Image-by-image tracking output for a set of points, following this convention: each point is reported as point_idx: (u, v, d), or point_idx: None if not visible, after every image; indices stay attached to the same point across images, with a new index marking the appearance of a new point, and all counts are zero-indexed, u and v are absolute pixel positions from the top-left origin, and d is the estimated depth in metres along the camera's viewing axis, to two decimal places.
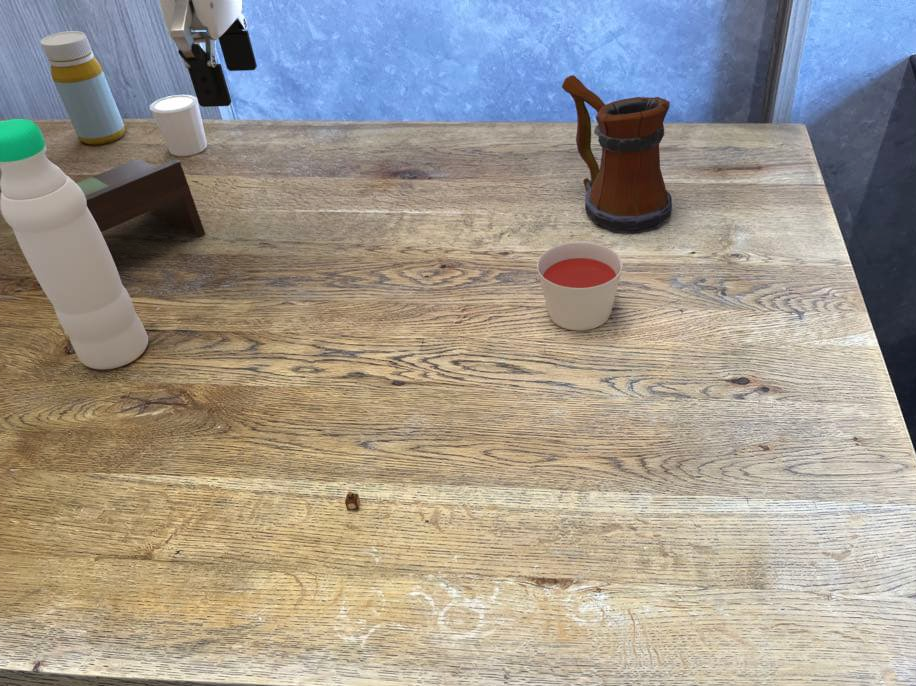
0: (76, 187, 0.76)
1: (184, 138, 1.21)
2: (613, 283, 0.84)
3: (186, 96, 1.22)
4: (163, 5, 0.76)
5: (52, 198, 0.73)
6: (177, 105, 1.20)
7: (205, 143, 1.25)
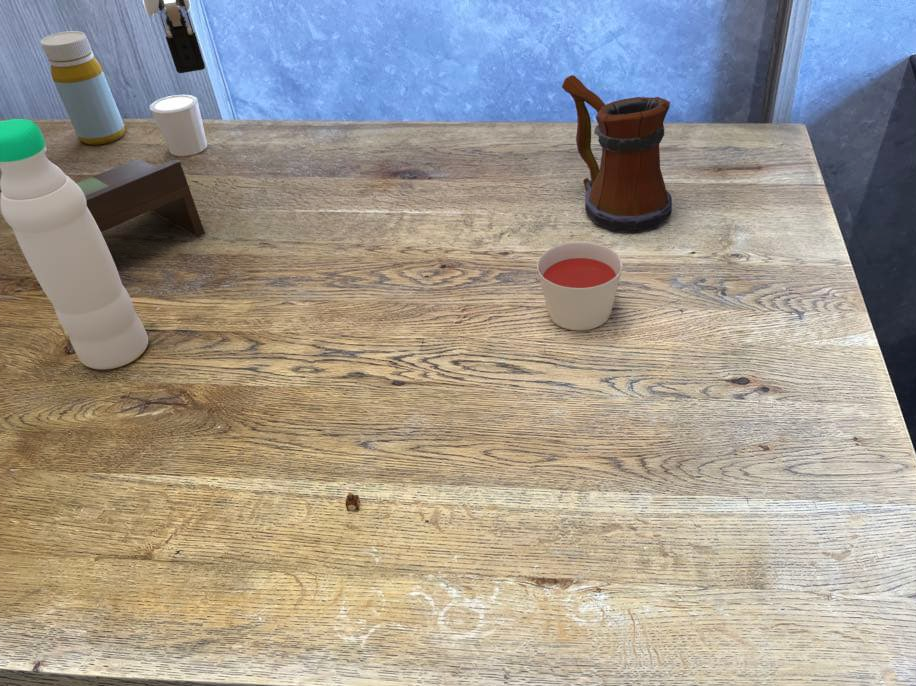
0: (76, 187, 0.76)
1: (184, 138, 1.21)
2: (613, 283, 0.84)
3: (186, 96, 1.22)
4: None
5: (52, 198, 0.73)
6: (177, 105, 1.20)
7: (205, 143, 1.25)
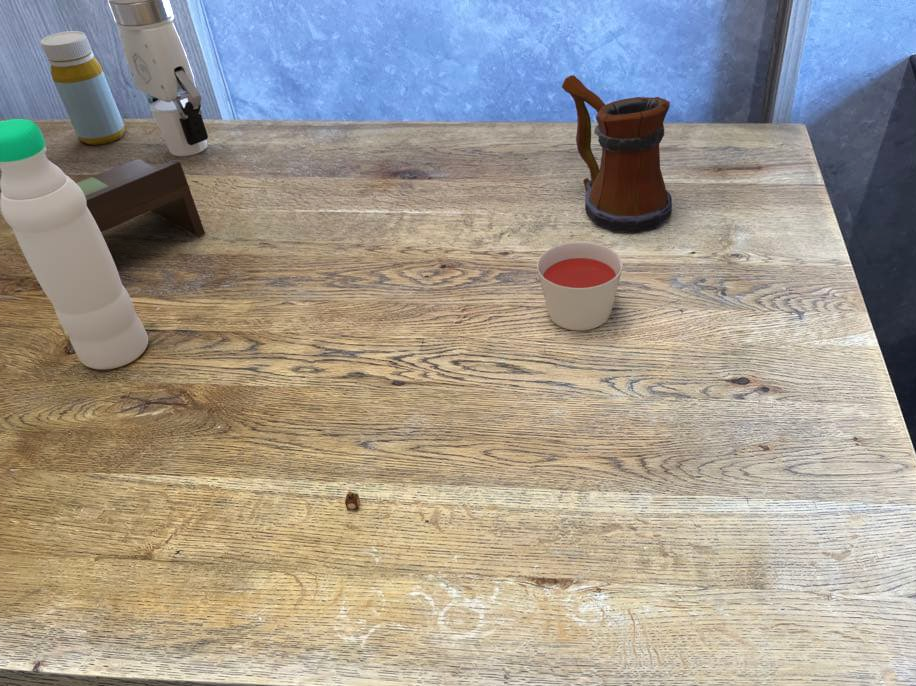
0: (76, 187, 0.76)
1: (184, 138, 1.21)
2: (613, 283, 0.84)
3: None
4: (166, 78, 1.13)
5: (52, 198, 0.73)
6: None
7: (205, 143, 1.25)
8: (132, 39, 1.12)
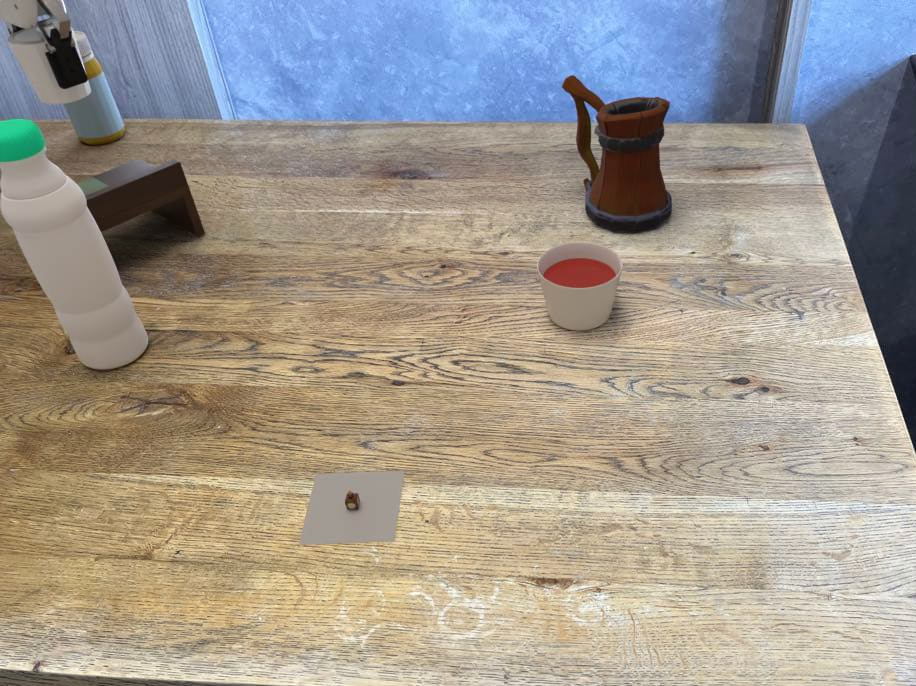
0: (76, 187, 0.76)
1: (55, 79, 0.92)
2: (613, 283, 0.84)
3: None
4: None
5: (52, 198, 0.73)
6: None
7: (87, 88, 0.96)
8: None
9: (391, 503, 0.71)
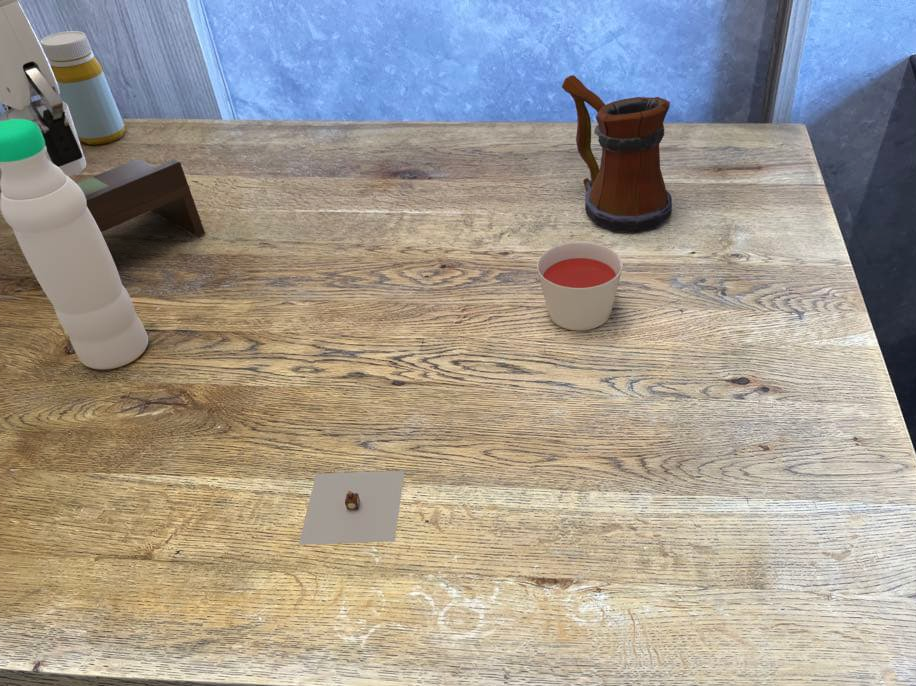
0: (76, 187, 0.76)
1: (49, 157, 0.92)
2: (613, 283, 0.84)
3: None
4: (12, 78, 0.84)
5: (52, 198, 0.73)
6: None
7: (82, 163, 0.95)
8: None
9: (391, 503, 0.71)
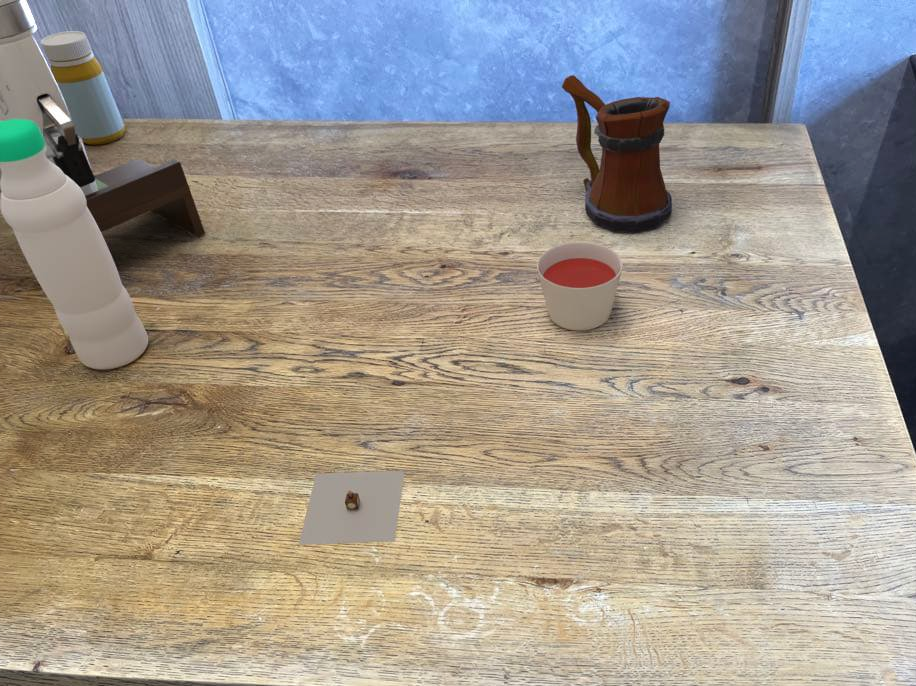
0: (76, 187, 0.76)
1: None
2: (613, 283, 0.84)
3: None
4: (26, 110, 0.86)
5: (52, 198, 0.73)
6: None
7: None
8: None
9: (391, 503, 0.71)
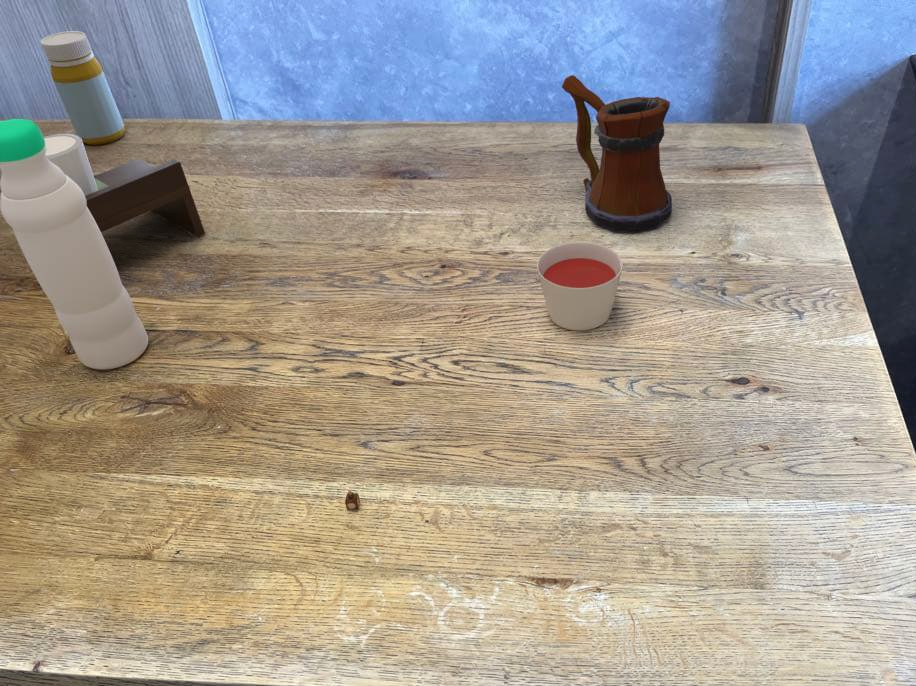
0: (76, 187, 0.76)
1: None
2: (613, 283, 0.84)
3: (68, 136, 0.95)
4: None
5: (52, 198, 0.73)
6: (54, 149, 0.93)
7: None
8: None
9: None
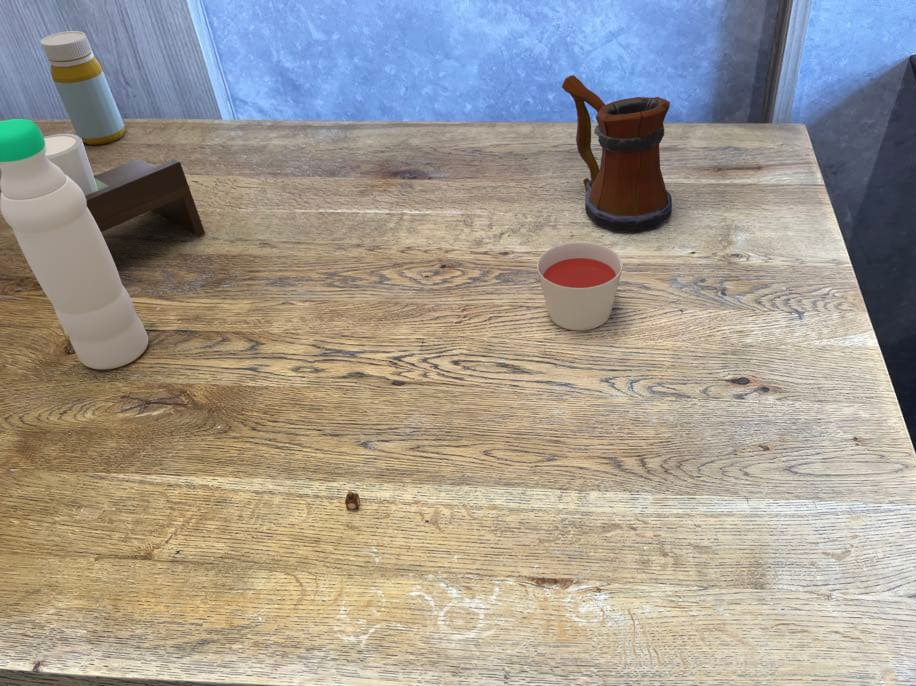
0: (76, 187, 0.76)
1: None
2: (613, 283, 0.84)
3: (68, 136, 0.95)
4: None
5: (52, 198, 0.73)
6: (54, 149, 0.93)
7: None
8: None
9: None
